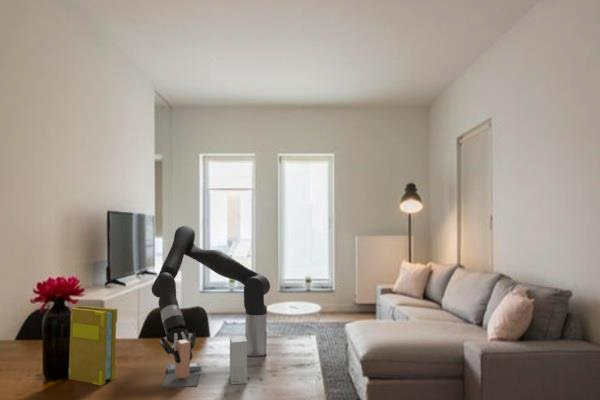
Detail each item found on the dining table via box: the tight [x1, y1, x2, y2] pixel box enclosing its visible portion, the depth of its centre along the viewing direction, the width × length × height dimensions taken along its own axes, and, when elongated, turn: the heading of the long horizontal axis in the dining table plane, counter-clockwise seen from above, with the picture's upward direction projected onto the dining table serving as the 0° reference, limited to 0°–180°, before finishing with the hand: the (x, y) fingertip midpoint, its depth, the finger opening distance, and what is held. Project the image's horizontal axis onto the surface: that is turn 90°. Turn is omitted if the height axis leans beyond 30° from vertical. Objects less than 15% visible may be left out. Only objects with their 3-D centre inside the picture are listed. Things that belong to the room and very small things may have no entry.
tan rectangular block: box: [174, 339, 191, 378], centre depth 155 cm, size 4×5×12 cm
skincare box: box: [229, 335, 248, 385], centre depth 156 cm, size 8×6×15 cm
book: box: [68, 305, 119, 386], centre depth 155 cm, size 17×7×25 cm, turn 71°
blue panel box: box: [166, 361, 202, 374], centre depth 165 cm, size 12×5×2 cm, turn 112°
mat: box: [161, 372, 202, 389], centre depth 155 cm, size 12×12×1 cm
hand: (184, 361), depth 153 cm, fingers closed on tan rectangular block, 3 cm apart
